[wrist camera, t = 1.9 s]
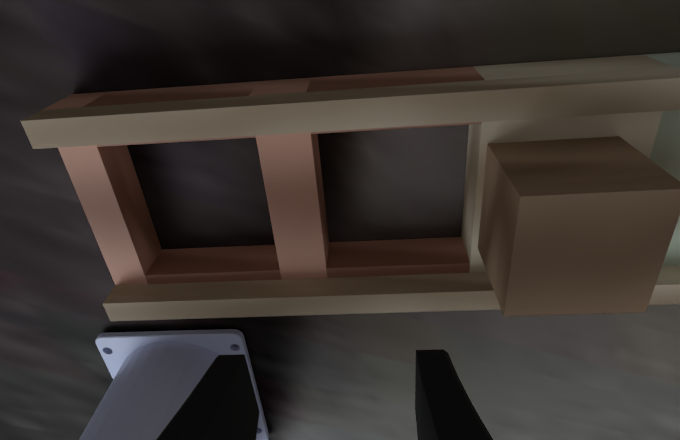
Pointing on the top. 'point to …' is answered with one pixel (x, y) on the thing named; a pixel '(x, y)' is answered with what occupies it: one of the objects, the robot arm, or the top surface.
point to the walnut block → (575, 225)
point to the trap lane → (307, 185)
